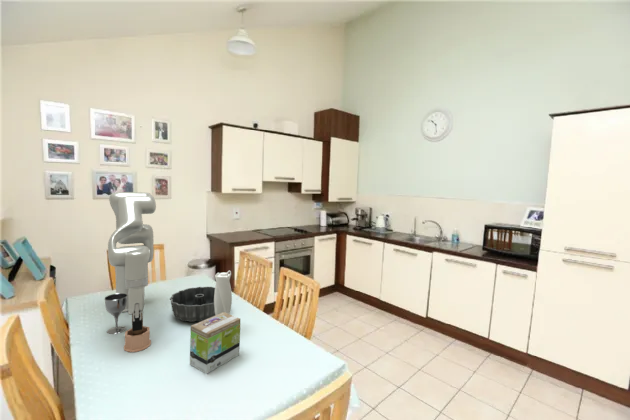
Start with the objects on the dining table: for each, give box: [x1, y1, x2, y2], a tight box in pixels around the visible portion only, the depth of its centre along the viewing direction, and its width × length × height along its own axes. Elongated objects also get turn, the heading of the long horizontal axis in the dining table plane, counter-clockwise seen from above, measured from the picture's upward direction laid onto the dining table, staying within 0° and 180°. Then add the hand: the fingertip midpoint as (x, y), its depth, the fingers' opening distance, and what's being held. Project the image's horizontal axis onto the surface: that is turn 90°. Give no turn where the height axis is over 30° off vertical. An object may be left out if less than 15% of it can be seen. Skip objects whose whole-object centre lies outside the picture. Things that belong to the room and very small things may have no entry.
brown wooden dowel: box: [131, 311, 144, 336], centre depth 114 cm, size 4×4×14 cm
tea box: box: [189, 312, 241, 375], centre depth 108 cm, size 15×10×15 cm, turn 148°
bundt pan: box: [169, 286, 215, 323], centre depth 144 cm, size 26×26×10 cm
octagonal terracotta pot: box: [123, 325, 152, 353], centre depth 115 cm, size 9×9×6 cm
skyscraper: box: [214, 270, 233, 315], centre depth 127 cm, size 8×8×28 cm
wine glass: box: [104, 293, 127, 335], centre depth 126 cm, size 8×8×15 cm
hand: (137, 327), depth 115 cm, fingers closed on brown wooden dowel, 3 cm apart
